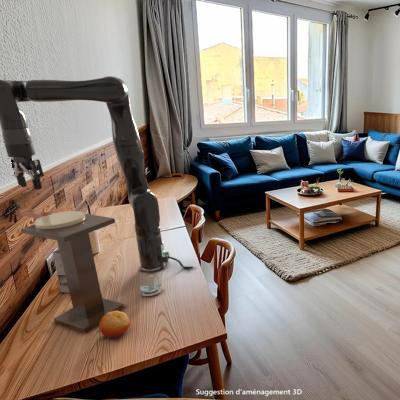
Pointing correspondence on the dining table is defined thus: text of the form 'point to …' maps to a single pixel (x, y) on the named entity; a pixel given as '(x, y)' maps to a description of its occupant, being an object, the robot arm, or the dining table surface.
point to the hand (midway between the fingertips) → (30, 188)
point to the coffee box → (60, 271)
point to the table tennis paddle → (54, 218)
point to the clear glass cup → (150, 287)
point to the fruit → (114, 324)
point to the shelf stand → (80, 272)
